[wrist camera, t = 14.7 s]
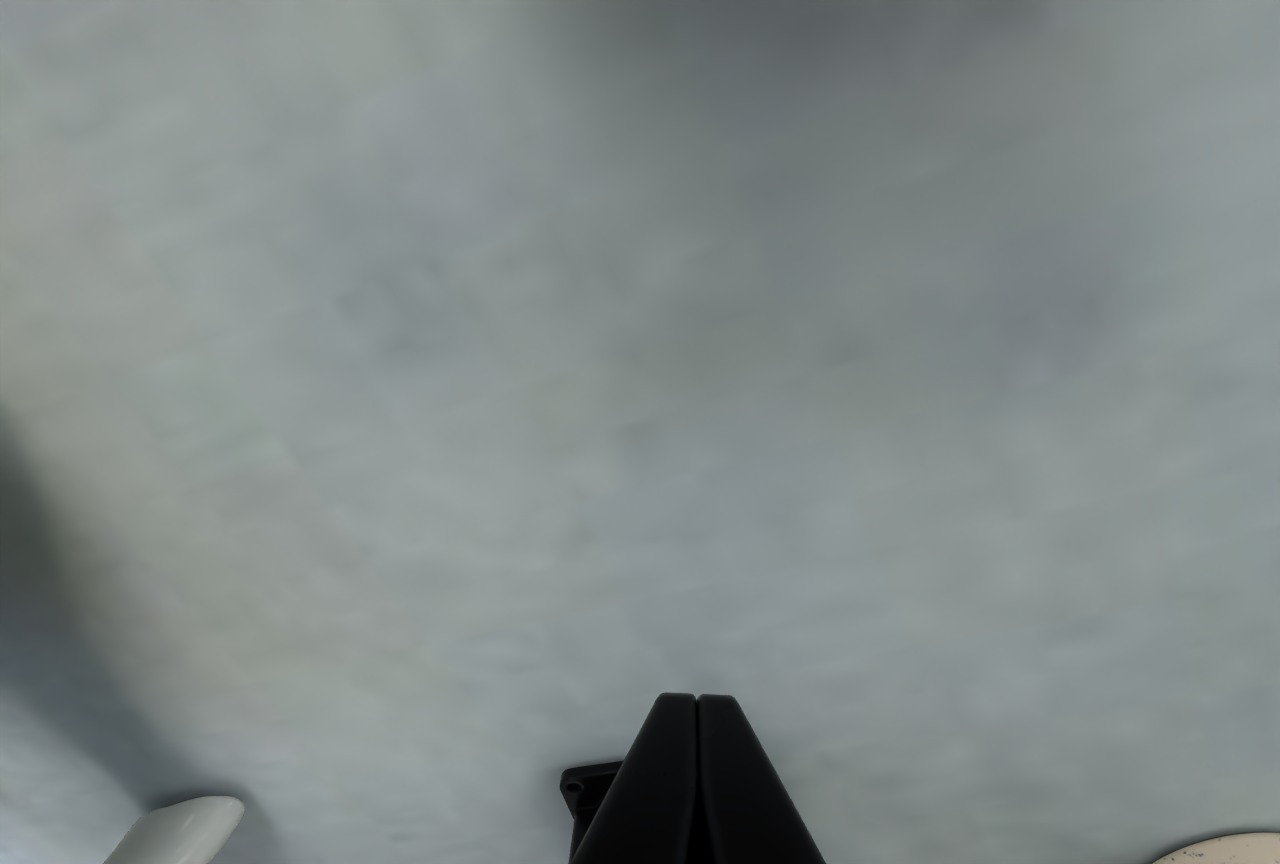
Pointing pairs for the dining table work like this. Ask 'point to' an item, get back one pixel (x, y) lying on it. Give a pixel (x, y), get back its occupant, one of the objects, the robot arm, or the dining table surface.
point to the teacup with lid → (1229, 850)
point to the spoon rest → (180, 832)
